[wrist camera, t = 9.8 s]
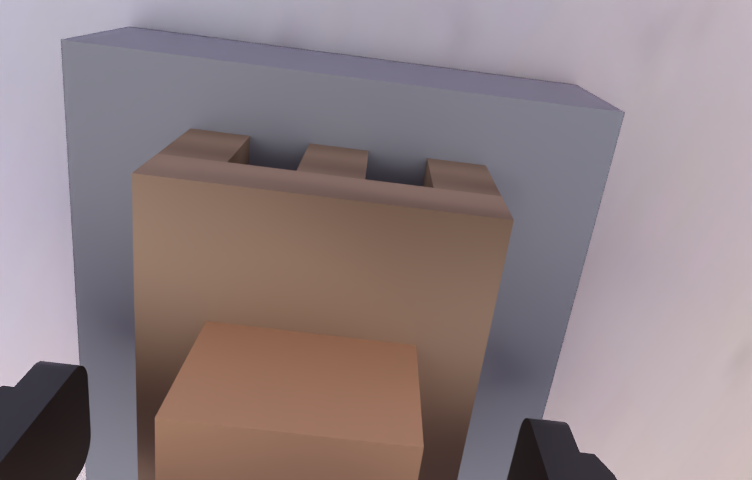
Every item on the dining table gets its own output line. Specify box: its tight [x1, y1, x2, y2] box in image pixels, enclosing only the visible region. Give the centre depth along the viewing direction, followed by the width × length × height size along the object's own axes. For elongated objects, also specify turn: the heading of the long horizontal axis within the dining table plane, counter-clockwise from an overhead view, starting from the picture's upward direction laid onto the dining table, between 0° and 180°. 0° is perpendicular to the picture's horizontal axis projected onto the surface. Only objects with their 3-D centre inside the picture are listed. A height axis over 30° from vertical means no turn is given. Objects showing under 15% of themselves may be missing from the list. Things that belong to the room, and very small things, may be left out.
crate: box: [155, 321, 424, 480], centre depth 11 cm, size 4×4×3 cm
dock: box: [61, 27, 625, 480], centre depth 16 cm, size 12×11×4 cm
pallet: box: [132, 128, 514, 480], centre depth 13 cm, size 9×6×3 cm, turn 173°
